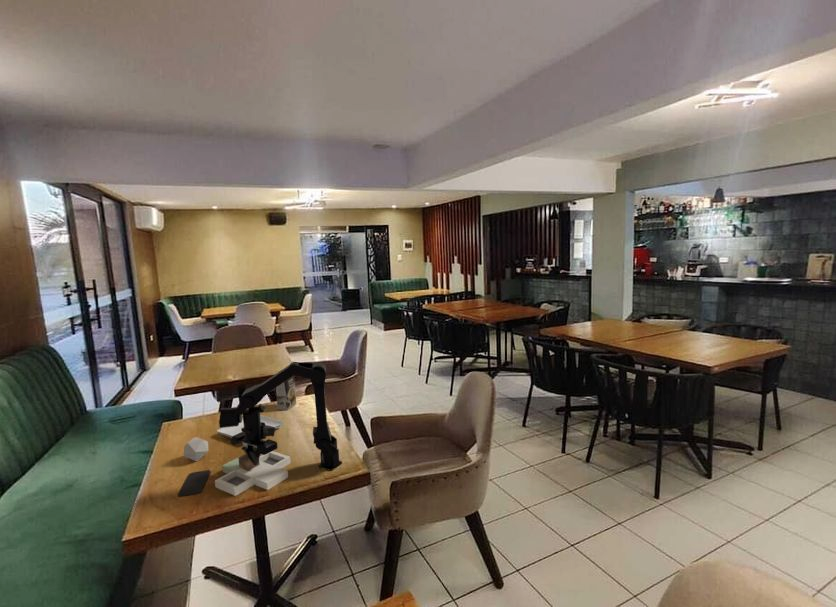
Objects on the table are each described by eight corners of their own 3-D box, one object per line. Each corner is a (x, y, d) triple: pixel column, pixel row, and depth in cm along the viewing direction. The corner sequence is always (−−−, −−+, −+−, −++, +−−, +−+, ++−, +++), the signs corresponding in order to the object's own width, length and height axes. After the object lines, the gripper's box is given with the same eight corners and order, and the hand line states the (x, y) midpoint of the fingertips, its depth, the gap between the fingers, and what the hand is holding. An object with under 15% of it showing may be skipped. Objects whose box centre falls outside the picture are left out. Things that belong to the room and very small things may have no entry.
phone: (176, 496, 137) (189, 472, 151) (176, 498, 137) (189, 474, 151) (200, 492, 138) (211, 469, 153) (201, 494, 138) (211, 471, 153)
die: (214, 458, 164) (212, 433, 168) (197, 457, 156) (196, 431, 160) (196, 465, 164) (194, 440, 169) (178, 465, 156) (177, 439, 161)
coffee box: (288, 410, 210) (286, 380, 207) (277, 409, 211) (274, 379, 209) (297, 403, 218) (294, 374, 216) (286, 403, 220) (283, 374, 218)
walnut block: (259, 464, 151) (258, 454, 151) (247, 471, 147) (246, 460, 146) (251, 461, 154) (250, 451, 153) (239, 467, 150) (238, 457, 149)
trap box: (303, 467, 153) (303, 461, 153) (248, 502, 133) (248, 494, 132) (259, 452, 166) (259, 446, 165) (203, 481, 145) (202, 475, 145)
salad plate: (245, 447, 171) (244, 440, 170) (215, 437, 182) (215, 429, 182) (285, 428, 189) (285, 421, 188) (256, 419, 200) (255, 413, 199)
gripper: (287, 420, 148) (290, 460, 150) (254, 411, 158) (257, 449, 160) (262, 432, 139) (266, 475, 141) (228, 422, 148) (232, 462, 150)
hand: (255, 464), depth 148 cm, fingers closed
